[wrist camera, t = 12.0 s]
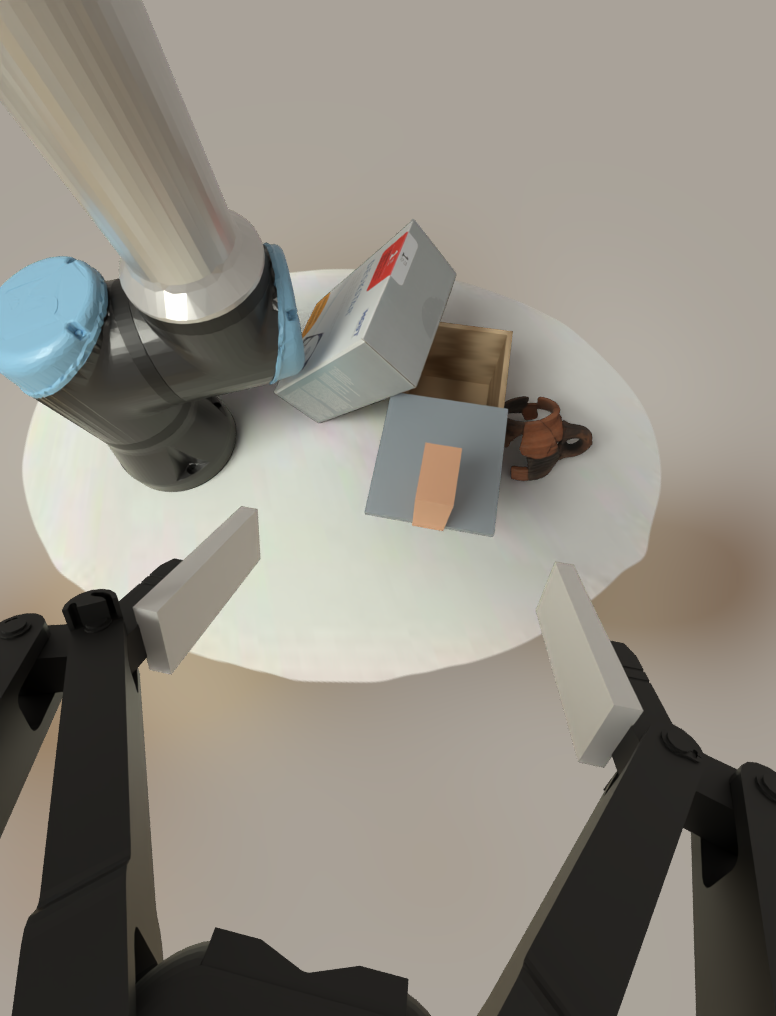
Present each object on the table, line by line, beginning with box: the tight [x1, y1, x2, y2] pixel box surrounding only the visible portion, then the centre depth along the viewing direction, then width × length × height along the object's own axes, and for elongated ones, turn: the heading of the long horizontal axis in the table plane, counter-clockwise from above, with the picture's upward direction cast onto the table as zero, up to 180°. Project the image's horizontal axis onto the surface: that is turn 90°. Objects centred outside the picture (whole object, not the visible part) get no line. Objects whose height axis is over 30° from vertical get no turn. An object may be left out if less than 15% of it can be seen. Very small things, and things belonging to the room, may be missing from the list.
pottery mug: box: [504, 396, 592, 481], centre depth 49 cm, size 12×10×8 cm
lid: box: [365, 393, 508, 537], centre depth 36 cm, size 13×14×8 cm
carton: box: [402, 322, 513, 408], centre depth 48 cm, size 12×14×10 cm
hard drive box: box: [274, 219, 456, 423], centre depth 45 cm, size 16×8×20 cm
